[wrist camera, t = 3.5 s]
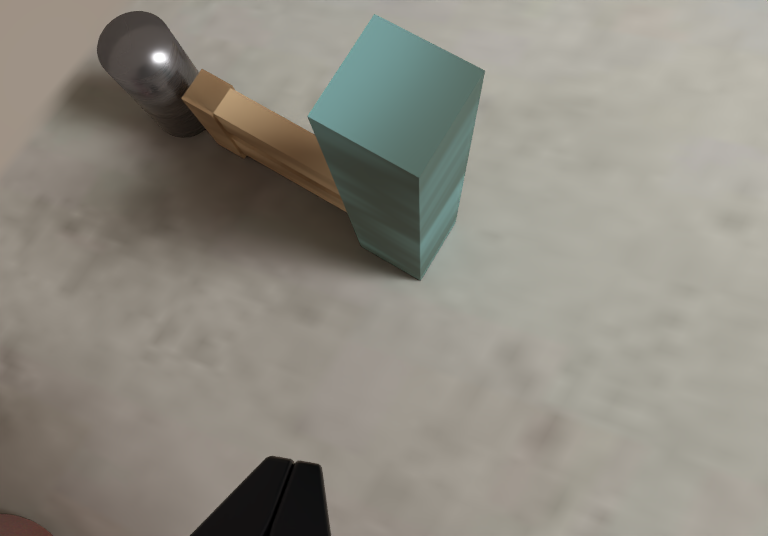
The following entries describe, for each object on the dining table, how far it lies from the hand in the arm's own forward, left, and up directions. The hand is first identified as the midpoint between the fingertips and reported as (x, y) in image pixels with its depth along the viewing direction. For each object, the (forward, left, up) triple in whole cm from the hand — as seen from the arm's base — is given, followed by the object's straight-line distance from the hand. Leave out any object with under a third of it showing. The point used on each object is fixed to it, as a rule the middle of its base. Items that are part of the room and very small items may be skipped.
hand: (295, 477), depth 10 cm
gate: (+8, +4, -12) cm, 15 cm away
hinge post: (+10, +10, -12) cm, 19 cm away
